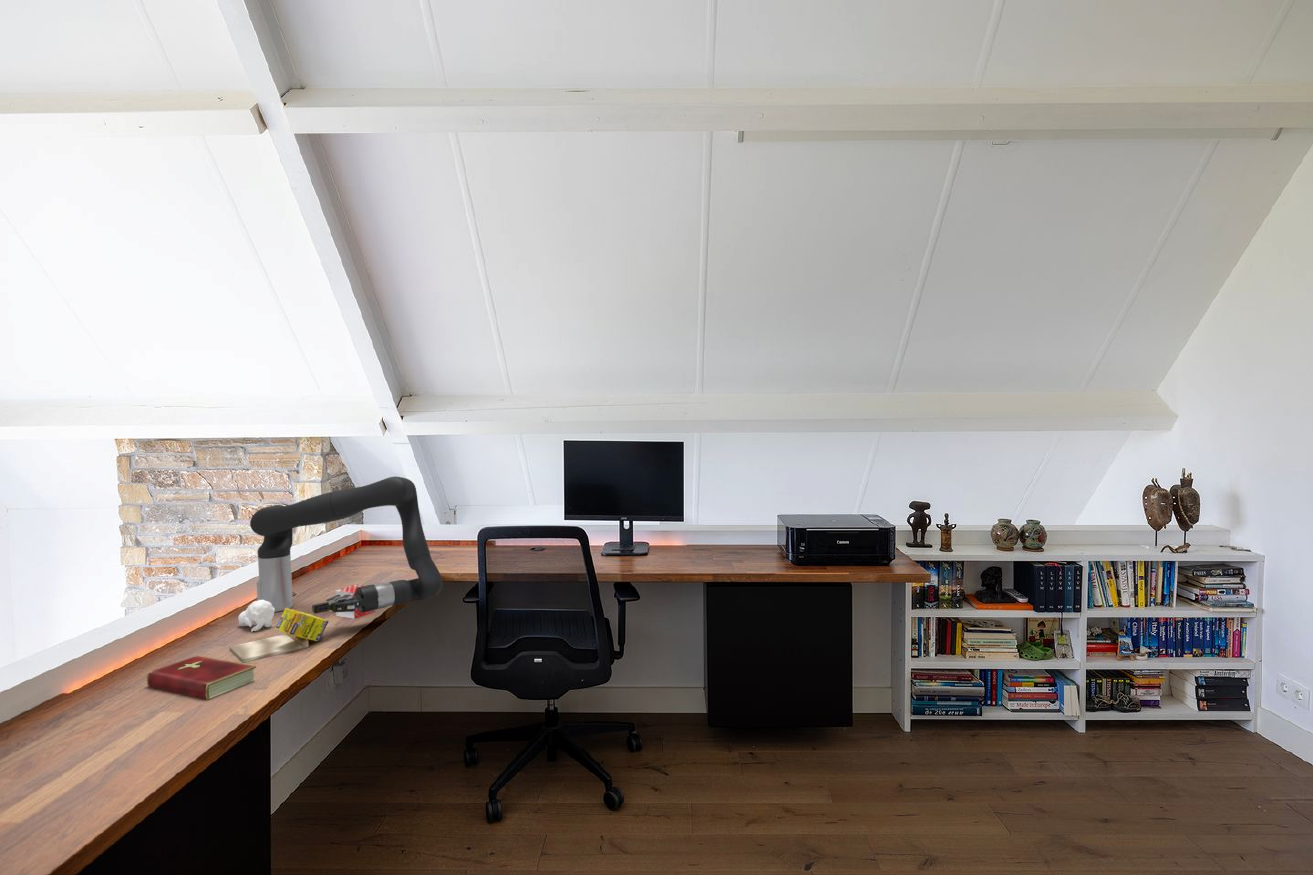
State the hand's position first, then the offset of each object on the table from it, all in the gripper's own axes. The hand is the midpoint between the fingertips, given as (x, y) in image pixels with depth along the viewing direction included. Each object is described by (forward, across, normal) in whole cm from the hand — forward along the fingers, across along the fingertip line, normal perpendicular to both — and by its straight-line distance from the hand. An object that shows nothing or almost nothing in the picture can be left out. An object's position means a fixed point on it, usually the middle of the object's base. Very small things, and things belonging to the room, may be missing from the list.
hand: (313, 609), depth 198 cm
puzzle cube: (-17, -16, +8) cm, 25 cm away
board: (+12, 0, +8) cm, 15 cm away
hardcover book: (+30, +15, +9) cm, 35 cm away
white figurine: (+9, -23, +8) cm, 27 cm away
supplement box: (-1, +2, +5) cm, 5 cm away
